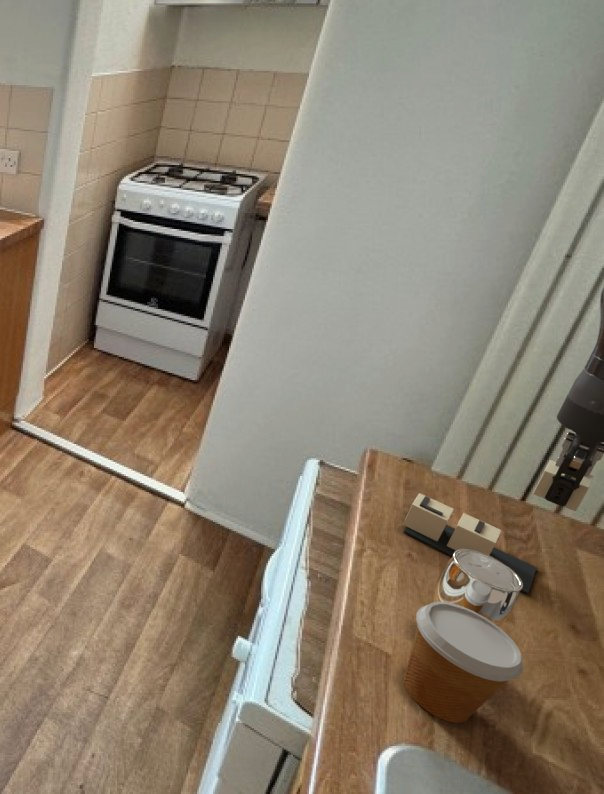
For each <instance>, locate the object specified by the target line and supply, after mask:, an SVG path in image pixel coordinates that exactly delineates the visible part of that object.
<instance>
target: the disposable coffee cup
mask: <svg viewBox="0 0 604 794" xmlns="http://www.w3.org/2000/svg"><path fill="white" fill-rule="evenodd" d="M415 619H416V625H417V627H416V630H415V634H414V638H413V642H412V646H411V650H410V654H409V657H408V660H407V661H408V662H407V666H406V670H405V672H404V676H403V685H404V688H405V690H406V691H407V693H408V694H409V696H410V697H411V698H412V699H413V700H414V701H415V703H417V704H418V705H419V706H420V707H422V708H423V709H424V710H425V711H427V712H428V713H430V714H431V715H433V716H435V717H436V718H438V719H441V720H443V721H447V722H449V723H455V724H462V723H465V722H466V721H468V719H470V717H471V716H472V715H473V714H475V713H476V711H478V710H479V708H480V707H482V706H483V705H484V704H485V703H486V702H487V701H488V700H489V699H490V698H491V697H492V696H493V695H494V694H496V692H498V690H500V689H501V688H502V687H503V686H504V685H505V684H506V683H507V682H509V681H512V680H516V679H517V678H519V677H520V676H521V675H522V673H523V670H524V666H523V662H522V654H521V651H520V649H519V647H518V645H517V644H516V642H515V641H514V640H513V639H512V637H510V636H509V634H508V633H506V632H505V631H504V629H502V628H501V627H500V626H499V627H498V626H496V625H495V624H494V623H492V622H491V621H490V620H488V619H486V618H485V617H483V616H481V615H480V614H478V613H476V612H474V611H472V610H469V609H467V608H465V607H462V606H459V605H456V604H452V603H448V602H433V601H432V602H431V603H429V604H426V605H424V606H423V605H422V607H420V608H419V609H418V610H417V612H416V616H415Z"/></svg>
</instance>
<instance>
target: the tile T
mask: <svg viewBox="0 0 604 794" xmlns="http://www.w3.org/2000/svg"><path fill="white" fill-rule="evenodd" d="M556 462H557V461H554V460H551V459H550V460H549V461H548V463H547V465H546V467H545V469H544V471H543V473H542V474H541V476H540V479H539V481H538V483H537V484H536V486H535V488H534V490H533V492H532V494H533V495H534V496H536V497H539V498H542V499H544V500H546V499H545V496H546V494H547V492H548V490H549V488H550V486H551V484H552V482H553V479H552V477H553V475H555V474H556V472H557V471H558V469H559V466H557V464H556ZM561 475H563V476H566V477H568V478H571V479H574V480H575V479H576V478H574V477H571V476H569V475H566V474H561ZM593 479H594V475H592V474H590V475H589V476H584V477H583V479H582V481H581V482H580V487H579V489H578V488H577V489H576V490H574V491H573V493H572V495H571V497H570V498H569V500H568V502H567V504H566V506H562V507H564V508H565V509H568V510H571V511H573V512H577V510H578V509H579V507H580V505H581V503H583V502H582V501H583V500H584V498H585V497H586V495H587V492H588V491H589V489H590V487H591V484H592V481H593Z"/></svg>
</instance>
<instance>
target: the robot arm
mask: <svg viewBox="0 0 604 794" xmlns="http://www.w3.org/2000/svg"><path fill="white" fill-rule="evenodd" d="M598 326H599V327H598V333H597V338H596V342H595V345H594V347H593V349H592V351H591V354H590V355H589V357H588V359H587V360H586V363H585V365H584V367H583V369H582V370H581V371H580V373H579V374H578V376H577V377H575V379H574V380H573V384H572V385H571V386H570V389H569V391H568V392H567V395H566V397H565V399H564V401H563V403H562V405H561V407H560V408H559V410H558V413H557V414H556V420H557V421H558V423H559V424H560V425H562V426H563V427H564V428H566V429H567V430H569V431H568V432H567V434H566V436H565V438H564V440H563V442H562V445H561V448H562V449H561V451H560V454H559V456H558V458H557V459H556V461H555V462H556V464H557V466H559V469H558V471H557V472H556V474H555V475H553V477H552V479H553V482H552V484H551V486H550V488H549V490H548V492H547V494H546V496H545V499H544V500H546V501H547V502H550V503H552V504H554V505H557V506H559V507H563V506H566V504H567V502H568V500H569V498H570V497H571V495H572V493H573V491H574V490H576V489H577V488H578V489H579V487H580V482H581V481H582V479H583V477H584V476H589V475H591V474H592V471H593V469H594V468H595V466H596V464H597V462H598V461H601V460H602V458H603V456H604V286H603V287H602V288H601V291H600V296H599V325H598ZM561 474H566V475H569V476H571V477H574V478H576V479H575V480H574V479H571V478H568V477H566V476H563V475H561Z"/></svg>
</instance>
